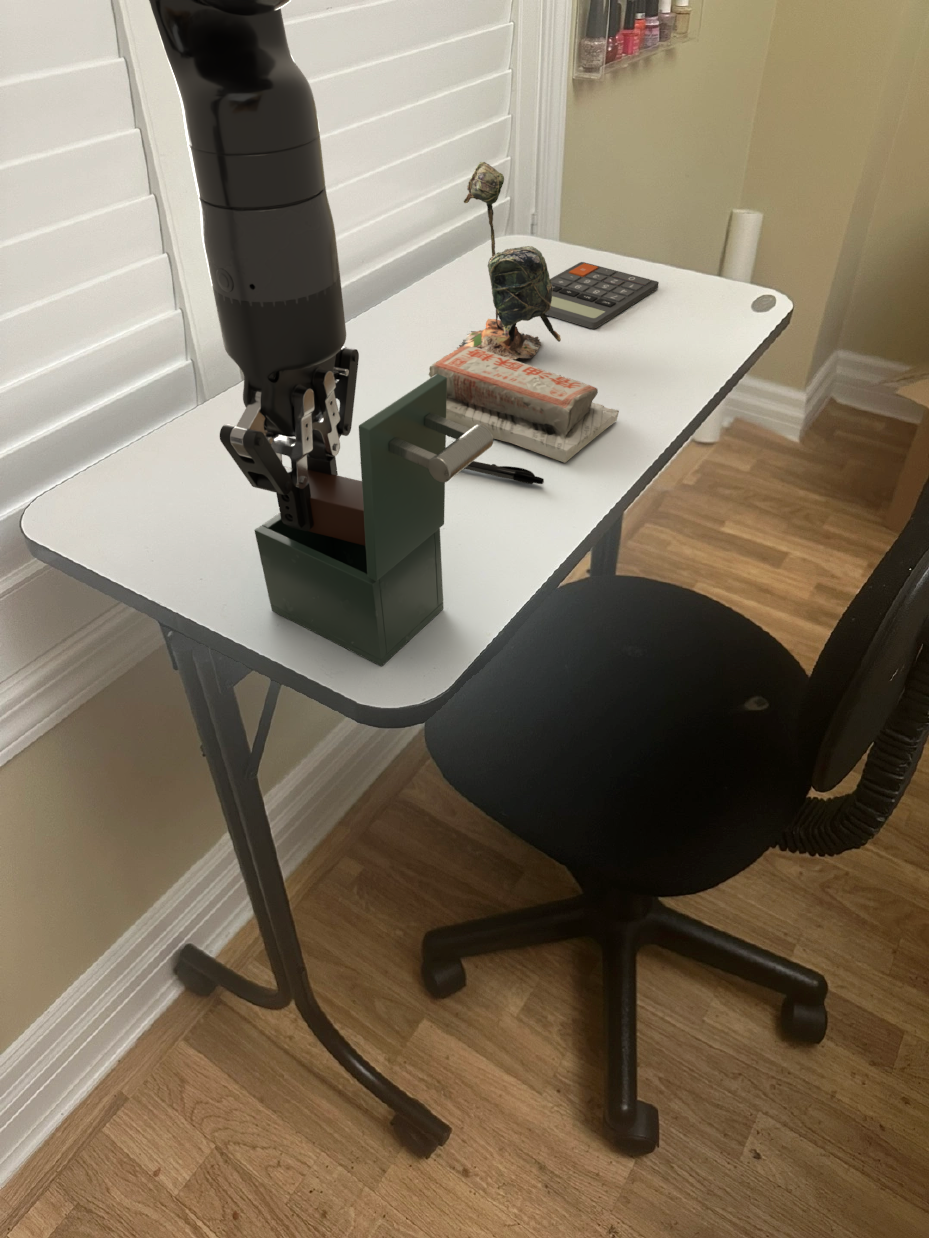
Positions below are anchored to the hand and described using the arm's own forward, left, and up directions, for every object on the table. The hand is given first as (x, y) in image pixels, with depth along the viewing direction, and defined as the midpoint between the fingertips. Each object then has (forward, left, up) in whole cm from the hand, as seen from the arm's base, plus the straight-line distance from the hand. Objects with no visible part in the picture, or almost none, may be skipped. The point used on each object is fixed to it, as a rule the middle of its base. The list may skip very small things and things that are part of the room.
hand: (312, 511), depth 65 cm
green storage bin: (+2, -2, -8) cm, 9 cm away
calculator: (+41, +47, -9) cm, 63 cm away
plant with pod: (+27, +36, -9) cm, 46 cm away
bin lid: (+5, -6, +5) cm, 10 cm away
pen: (+16, +14, -9) cm, 23 cm away
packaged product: (+23, +22, -9) cm, 33 cm away
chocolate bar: (+2, -2, -1) cm, 3 cm away
